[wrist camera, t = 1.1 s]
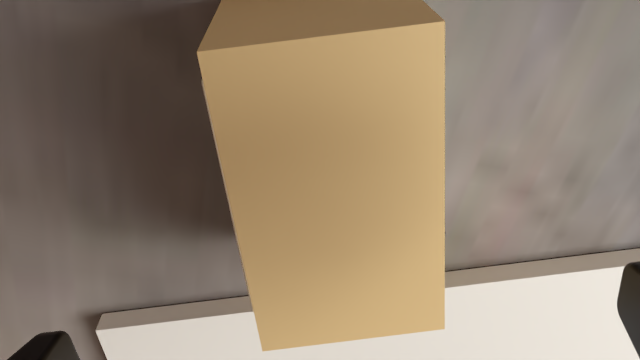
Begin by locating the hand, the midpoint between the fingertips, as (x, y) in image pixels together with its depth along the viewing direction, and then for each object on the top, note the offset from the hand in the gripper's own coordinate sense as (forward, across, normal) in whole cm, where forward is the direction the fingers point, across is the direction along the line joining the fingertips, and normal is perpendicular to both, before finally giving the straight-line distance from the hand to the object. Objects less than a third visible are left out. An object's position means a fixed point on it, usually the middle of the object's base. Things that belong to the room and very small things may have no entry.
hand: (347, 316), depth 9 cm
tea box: (+8, 0, 0) cm, 8 cm away
